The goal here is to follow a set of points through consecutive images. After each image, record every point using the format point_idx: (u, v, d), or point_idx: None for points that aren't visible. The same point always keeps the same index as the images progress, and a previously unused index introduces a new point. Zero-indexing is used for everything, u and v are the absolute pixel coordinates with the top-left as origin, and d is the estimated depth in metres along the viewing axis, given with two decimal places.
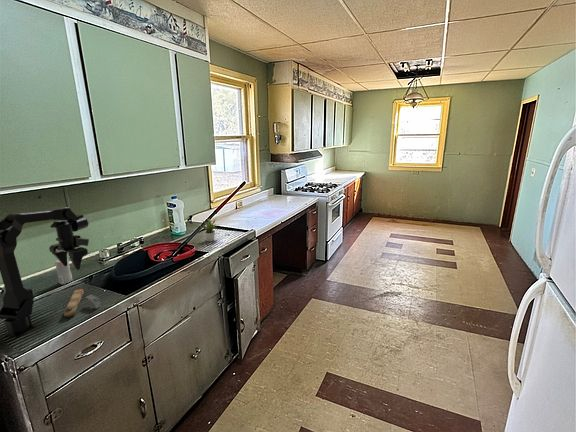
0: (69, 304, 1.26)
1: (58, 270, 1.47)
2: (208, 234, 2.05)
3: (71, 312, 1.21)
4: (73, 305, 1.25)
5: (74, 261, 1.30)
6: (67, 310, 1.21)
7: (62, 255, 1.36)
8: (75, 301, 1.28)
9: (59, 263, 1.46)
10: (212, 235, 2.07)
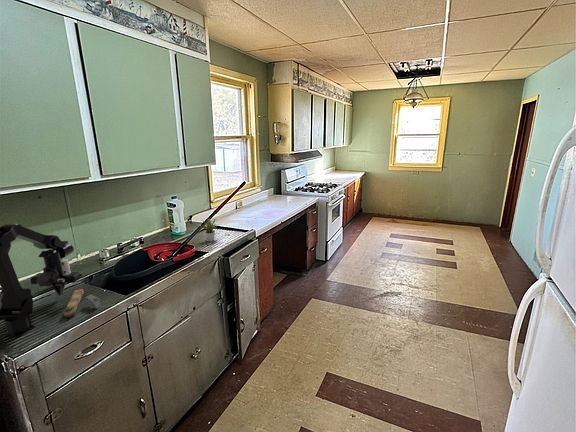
0: (69, 304, 1.26)
1: None
2: (208, 234, 2.05)
3: (71, 312, 1.21)
4: (73, 305, 1.25)
5: None
6: (67, 310, 1.21)
7: None
8: (75, 301, 1.28)
9: None
10: (212, 235, 2.07)
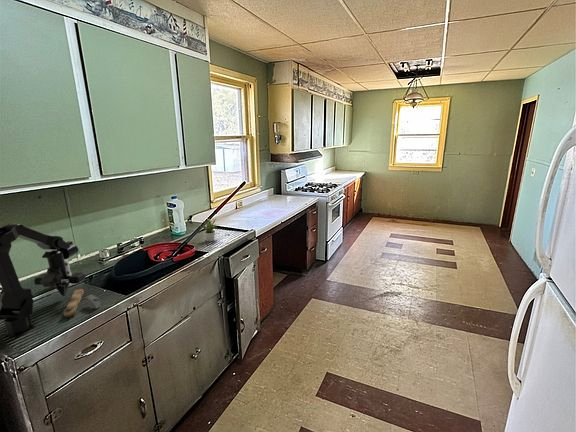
0: (69, 304, 1.26)
1: None
2: (208, 234, 2.05)
3: (71, 312, 1.21)
4: (73, 305, 1.25)
5: None
6: (67, 310, 1.21)
7: None
8: (75, 301, 1.28)
9: None
10: (212, 235, 2.07)
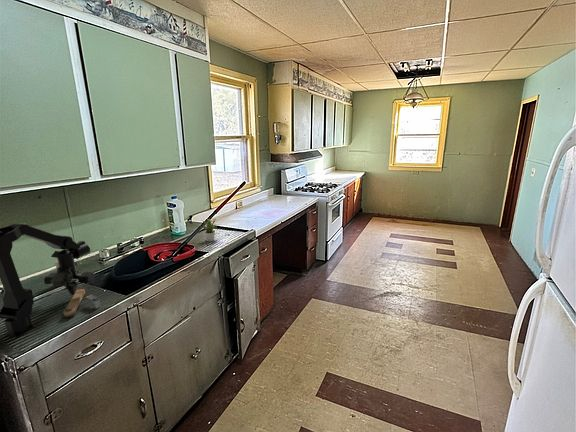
0: (70, 304, 1.26)
1: None
2: (208, 234, 2.05)
3: (71, 312, 1.21)
4: (73, 305, 1.25)
5: None
6: (67, 310, 1.21)
7: None
8: (76, 301, 1.29)
9: None
10: (212, 235, 2.07)
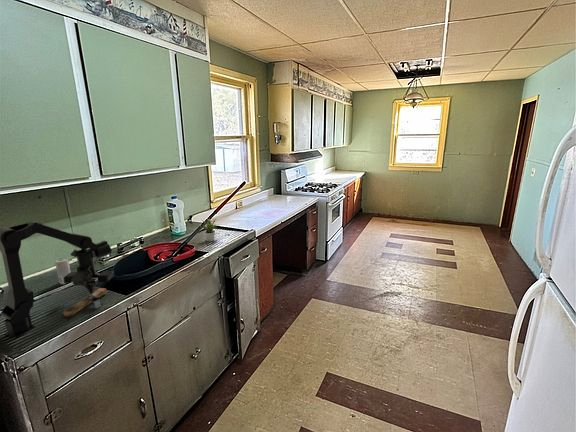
0: (77, 303, 1.27)
1: (58, 270, 1.47)
2: (208, 234, 2.05)
3: (68, 313, 1.21)
4: (77, 305, 1.25)
5: None
6: (66, 310, 1.21)
7: None
8: (84, 301, 1.28)
9: (59, 263, 1.46)
10: (212, 235, 2.07)
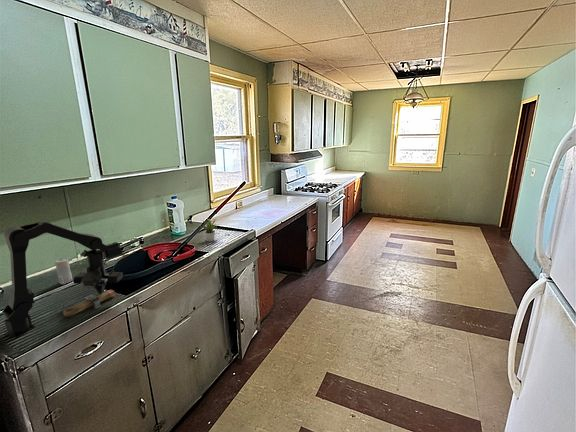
0: (80, 303, 1.27)
1: (58, 270, 1.47)
2: (208, 234, 2.05)
3: (66, 313, 1.21)
4: (78, 306, 1.25)
5: None
6: (65, 310, 1.21)
7: None
8: (87, 302, 1.27)
9: (59, 263, 1.46)
10: (212, 235, 2.07)
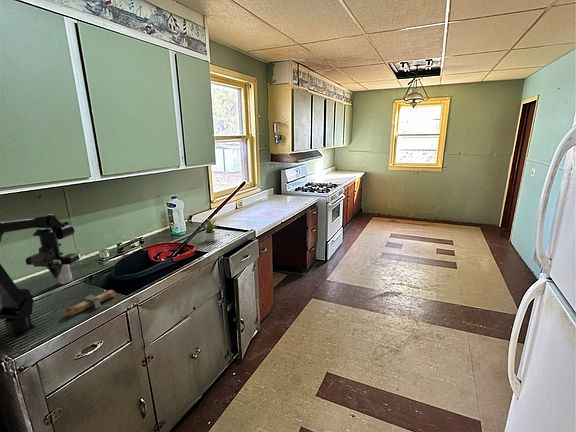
0: (80, 303, 1.27)
1: None
2: (208, 234, 2.05)
3: (66, 313, 1.21)
4: (78, 306, 1.25)
5: None
6: (65, 310, 1.22)
7: None
8: (87, 302, 1.27)
9: None
10: (212, 235, 2.07)
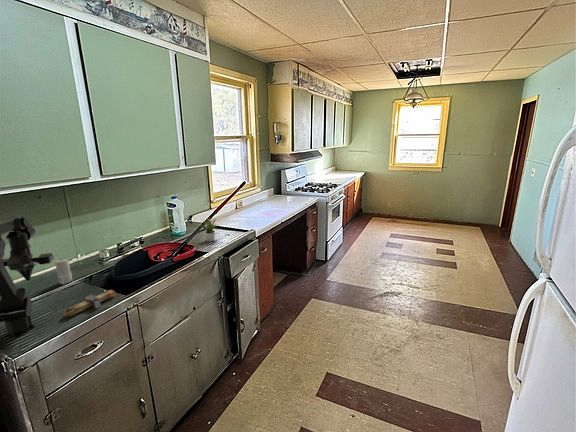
0: (80, 303, 1.27)
1: (58, 270, 1.47)
2: (208, 234, 2.05)
3: (66, 313, 1.21)
4: (78, 306, 1.25)
5: None
6: (65, 310, 1.22)
7: None
8: (87, 302, 1.27)
9: (59, 263, 1.46)
10: (212, 235, 2.07)
